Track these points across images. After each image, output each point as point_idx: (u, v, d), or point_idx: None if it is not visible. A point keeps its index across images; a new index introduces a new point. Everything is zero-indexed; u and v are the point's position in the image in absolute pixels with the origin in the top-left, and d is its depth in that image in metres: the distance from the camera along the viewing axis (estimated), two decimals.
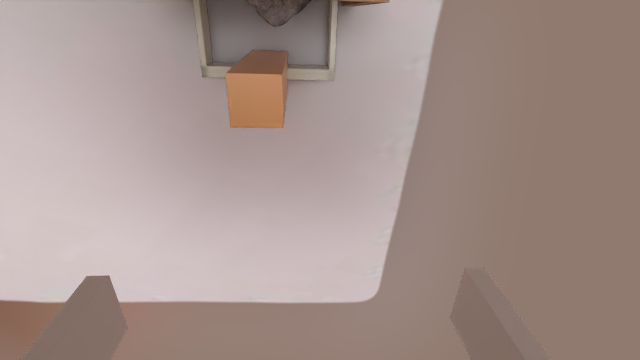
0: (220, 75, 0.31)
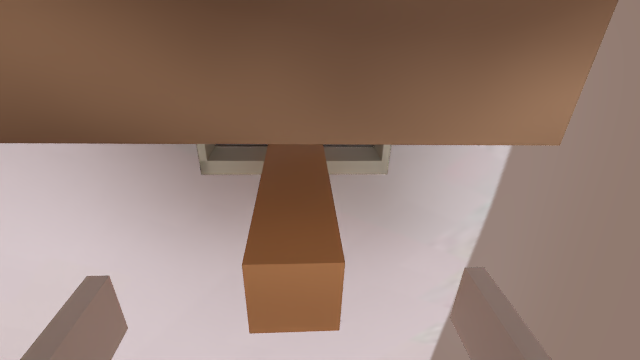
0: (227, 171, 0.22)
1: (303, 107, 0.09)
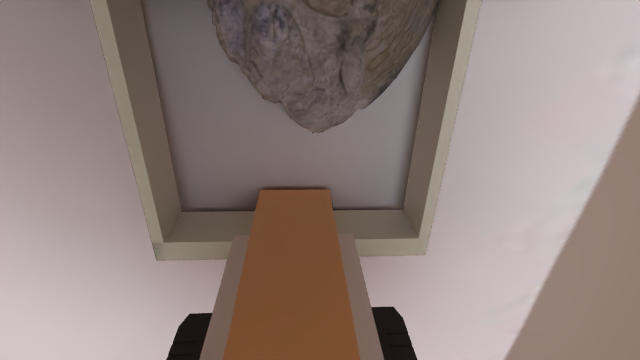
0: (194, 256, 0.15)
1: None
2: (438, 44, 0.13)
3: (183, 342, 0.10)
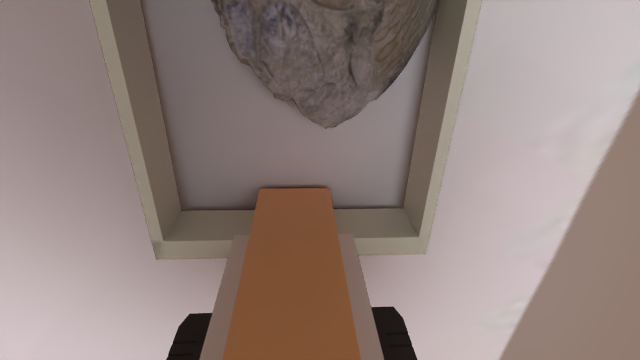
0: (194, 255, 0.15)
1: None
2: (439, 42, 0.13)
3: (183, 342, 0.10)
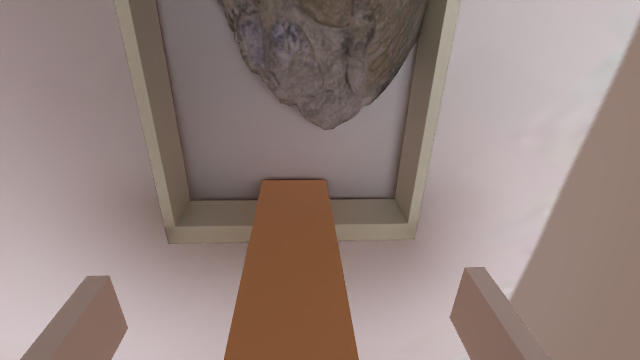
0: (202, 239, 0.16)
1: None
2: (424, 46, 0.14)
3: None
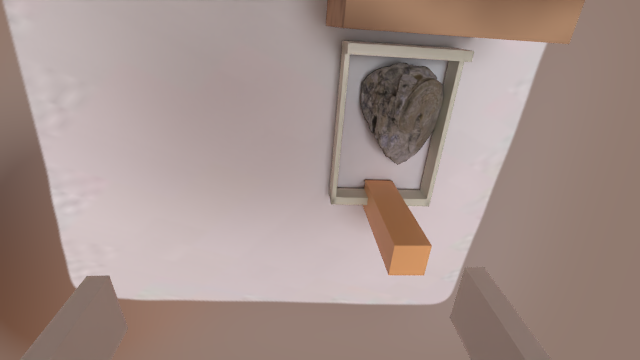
0: (344, 203, 0.40)
1: (468, 18, 0.22)
2: (436, 132, 0.39)
3: None
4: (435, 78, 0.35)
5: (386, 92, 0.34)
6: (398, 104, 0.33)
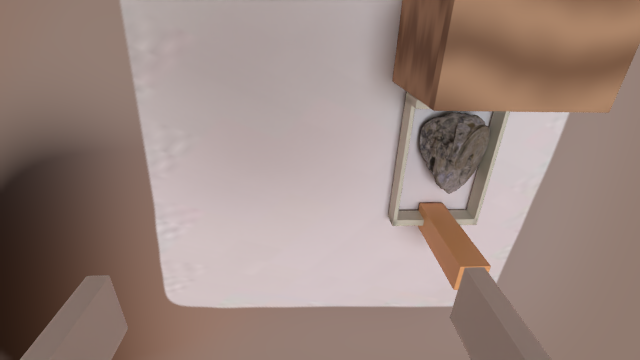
0: (404, 224, 0.47)
1: (530, 99, 0.28)
2: (483, 163, 0.45)
3: None
4: (484, 124, 0.42)
5: (443, 138, 0.41)
6: (455, 149, 0.40)
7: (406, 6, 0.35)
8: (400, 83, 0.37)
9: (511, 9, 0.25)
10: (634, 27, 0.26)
